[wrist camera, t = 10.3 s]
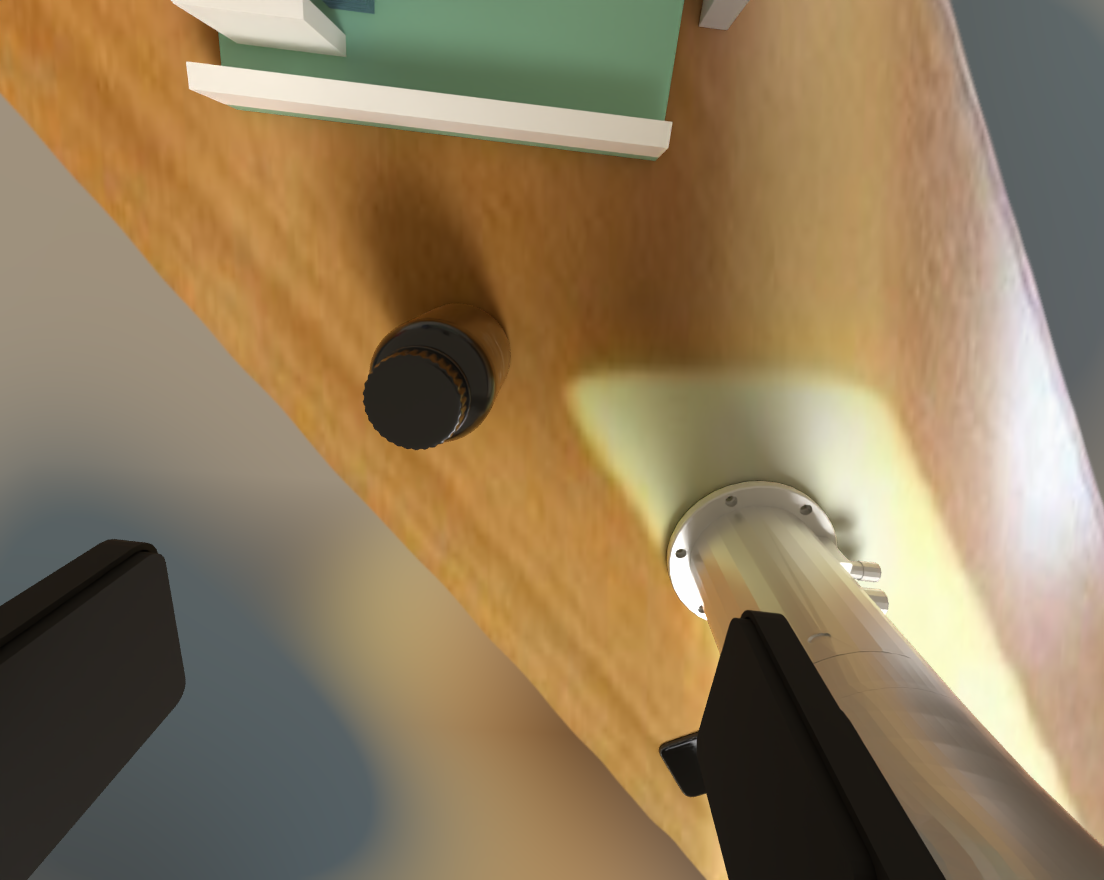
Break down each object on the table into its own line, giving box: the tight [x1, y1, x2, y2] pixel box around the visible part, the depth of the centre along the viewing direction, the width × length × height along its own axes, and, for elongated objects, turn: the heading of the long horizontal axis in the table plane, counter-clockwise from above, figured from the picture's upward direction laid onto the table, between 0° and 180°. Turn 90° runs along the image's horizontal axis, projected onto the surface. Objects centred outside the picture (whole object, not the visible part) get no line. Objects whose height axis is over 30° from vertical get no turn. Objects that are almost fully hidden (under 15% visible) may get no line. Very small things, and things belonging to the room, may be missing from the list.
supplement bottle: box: [363, 303, 511, 450], centre depth 30 cm, size 7×7×12 cm
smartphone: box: [659, 732, 706, 797], centre depth 47 cm, size 7×1×15 cm
